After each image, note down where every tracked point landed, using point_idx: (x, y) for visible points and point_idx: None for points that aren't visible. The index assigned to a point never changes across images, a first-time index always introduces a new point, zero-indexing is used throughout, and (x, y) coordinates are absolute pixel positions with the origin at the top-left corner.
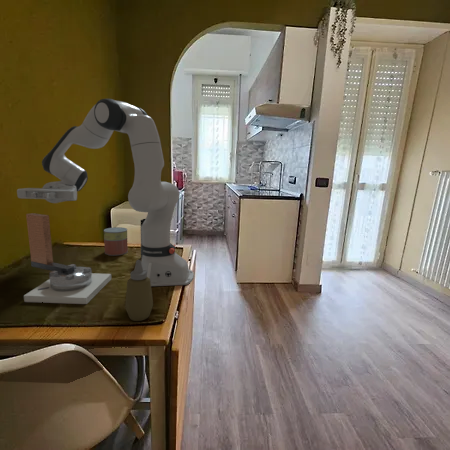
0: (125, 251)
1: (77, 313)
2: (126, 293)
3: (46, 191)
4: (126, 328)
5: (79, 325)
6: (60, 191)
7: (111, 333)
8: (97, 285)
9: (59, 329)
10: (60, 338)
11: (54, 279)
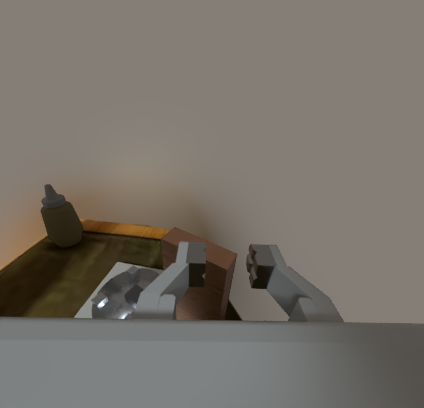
0: None
1: (130, 252)
2: (76, 216)
3: (224, 324)
4: (91, 228)
5: (129, 236)
6: (67, 318)
7: (105, 225)
8: (93, 296)
9: (146, 234)
10: (144, 226)
11: (156, 273)
